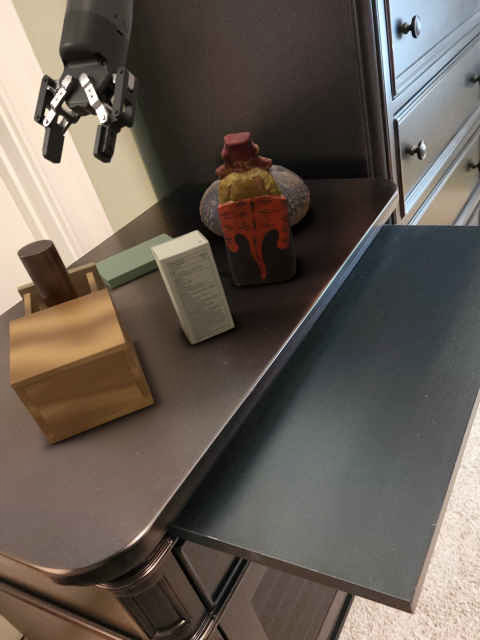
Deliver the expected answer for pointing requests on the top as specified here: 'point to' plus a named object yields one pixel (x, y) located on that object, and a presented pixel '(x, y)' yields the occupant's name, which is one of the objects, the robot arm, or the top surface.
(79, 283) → the drawer
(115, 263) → the board
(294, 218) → the sea urchin shell
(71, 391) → the cabinet
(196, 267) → the cosmetic box
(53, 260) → the brown wooden cylinder
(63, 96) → the robot arm
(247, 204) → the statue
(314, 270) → the top surface
